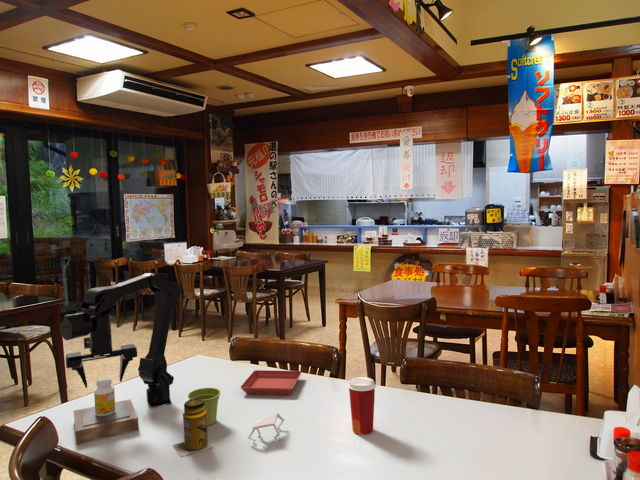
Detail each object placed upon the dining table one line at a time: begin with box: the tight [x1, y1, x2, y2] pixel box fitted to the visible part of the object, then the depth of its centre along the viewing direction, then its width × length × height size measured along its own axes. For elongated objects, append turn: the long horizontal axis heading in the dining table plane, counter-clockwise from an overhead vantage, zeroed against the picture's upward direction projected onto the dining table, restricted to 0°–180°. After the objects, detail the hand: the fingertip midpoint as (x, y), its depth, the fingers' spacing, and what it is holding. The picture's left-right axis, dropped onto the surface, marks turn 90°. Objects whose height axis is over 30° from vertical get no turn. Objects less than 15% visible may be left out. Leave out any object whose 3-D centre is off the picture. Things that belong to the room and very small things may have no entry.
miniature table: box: [247, 413, 285, 445], centre depth 134 cm, size 12×8×5 cm
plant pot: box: [187, 387, 222, 426], centre depth 144 cm, size 9×9×9 cm
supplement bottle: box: [93, 377, 116, 416], centre depth 143 cm, size 5×5×10 cm
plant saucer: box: [240, 369, 302, 396], centre depth 172 cm, size 18×18×3 cm
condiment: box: [172, 399, 214, 457], centre depth 129 cm, size 7×8×12 cm
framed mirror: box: [73, 399, 140, 446], centre depth 143 cm, size 16×16×4 cm
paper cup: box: [346, 376, 377, 436], centre depth 135 cm, size 8×8×14 cm
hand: (103, 384), depth 143 cm, fingers open, 9 cm apart
